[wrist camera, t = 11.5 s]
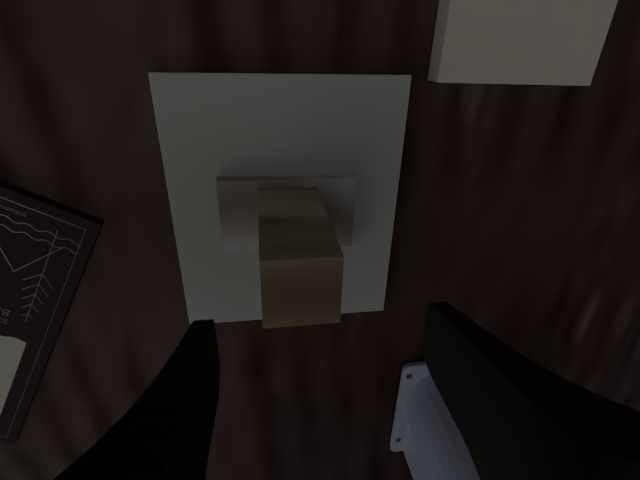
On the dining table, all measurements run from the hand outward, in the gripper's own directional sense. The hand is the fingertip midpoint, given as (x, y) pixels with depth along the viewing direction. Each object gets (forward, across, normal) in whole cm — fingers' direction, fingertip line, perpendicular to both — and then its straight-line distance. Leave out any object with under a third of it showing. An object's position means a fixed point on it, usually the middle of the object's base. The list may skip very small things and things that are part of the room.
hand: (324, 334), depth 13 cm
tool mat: (+10, 0, 0) cm, 10 cm away
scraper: (+10, +1, 0) cm, 10 cm away
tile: (+10, -10, -7) cm, 16 cm away
